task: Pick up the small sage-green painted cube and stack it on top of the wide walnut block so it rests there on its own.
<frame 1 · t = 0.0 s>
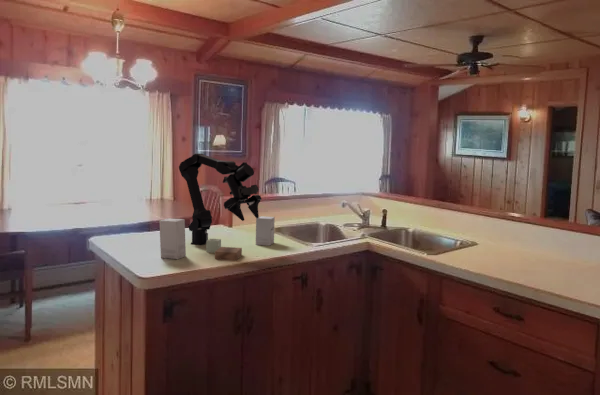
hand: (250, 219, 197), 15 cm above the counter, tool tilted 35°, fingers open, 9 cm apart
skincare box: (172, 257, 189), on the counter
sage cube: (213, 251, 202), on the counter
walnut block: (228, 257, 192), on the counter
supplement box: (264, 244, 219), on the counter
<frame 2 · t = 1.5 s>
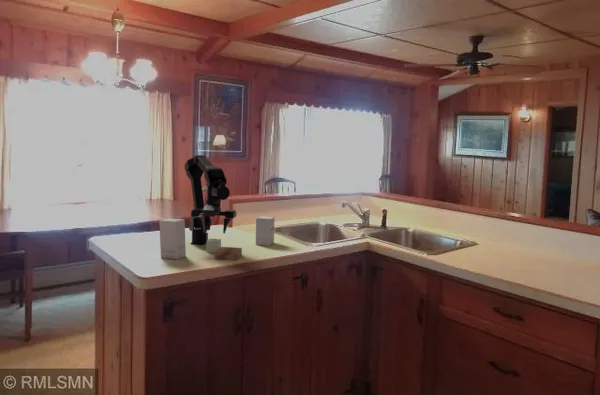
hand: (213, 232, 201), 8 cm above the counter, tool pointing down, fingers open, 9 cm apart
nothing on the counter moved.
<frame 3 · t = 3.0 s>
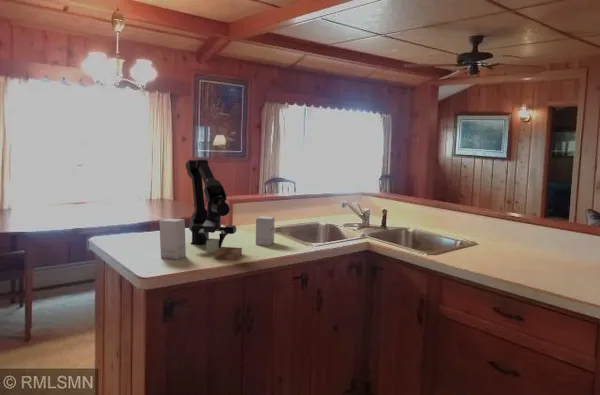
hand: (213, 248, 201), 1 cm above the counter, tool pointing down, fingers closed on sage cube, 5 cm apart
sage cube: (213, 251, 202), on the counter, touching gripper
everything else where it was.
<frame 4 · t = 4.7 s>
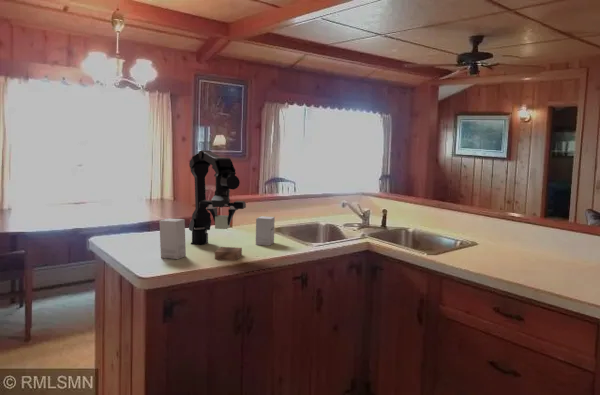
hand: (222, 225, 194), 13 cm above the counter, tool pointing down, fingers closed on sage cube, 5 cm apart
sage cube: (222, 227, 194), point 11 cm above the counter, touching gripper
everything else where it was.
when the fingers open (6 cm above the counter, at t = 6.8 s): sage cube drops 2 cm, point 3 cm above the counter.
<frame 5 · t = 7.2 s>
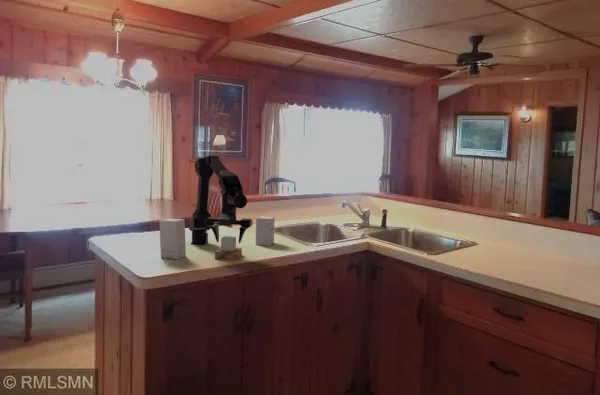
hand: (228, 242, 191), 6 cm above the counter, tool pointing down, fingers open, 9 cm apart
sage cube: (228, 249, 192), point 3 cm above the counter
everything else where it was.
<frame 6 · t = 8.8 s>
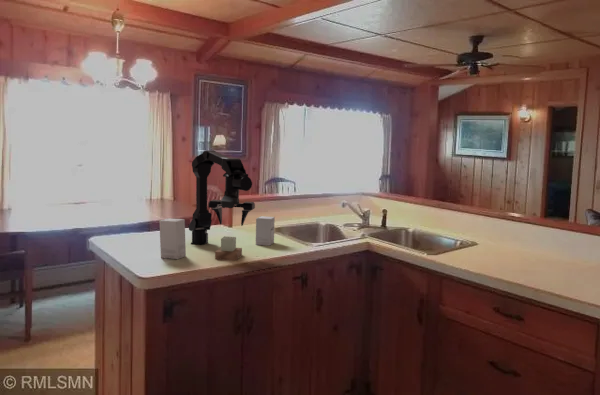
hand: (231, 225, 196), 13 cm above the counter, tool pointing down, fingers open, 9 cm apart
nothing on the counter moved.
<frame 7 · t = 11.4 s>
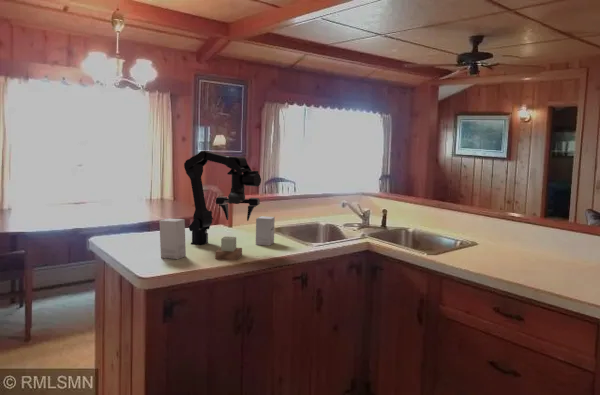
hand: (237, 220, 205), 13 cm above the counter, tool pointing down, fingers open, 9 cm apart
nothing on the counter moved.
at the end: sage cube 0.3 cm from the walnut block (horizontally); sage cube point 3.0 cm above the counter; sage cube tilted 0° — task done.
